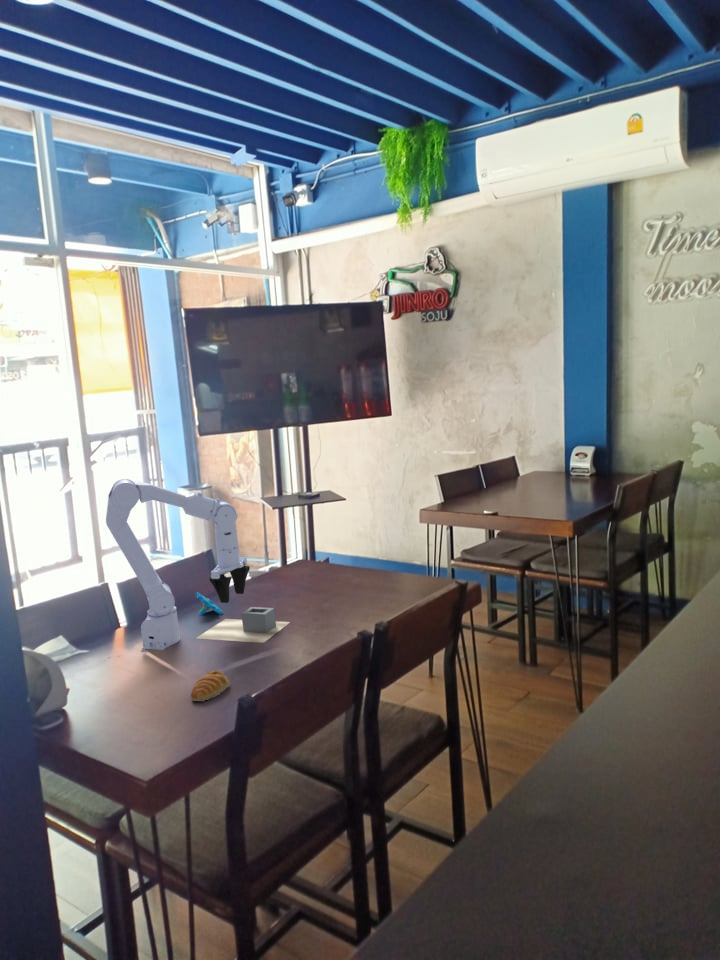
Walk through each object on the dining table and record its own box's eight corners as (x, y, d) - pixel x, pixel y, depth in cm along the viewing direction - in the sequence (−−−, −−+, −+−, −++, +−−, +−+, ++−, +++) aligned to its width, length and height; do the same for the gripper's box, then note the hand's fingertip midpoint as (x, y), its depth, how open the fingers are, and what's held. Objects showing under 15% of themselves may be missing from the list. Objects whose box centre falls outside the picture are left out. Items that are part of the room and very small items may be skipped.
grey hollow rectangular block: (266, 632, 190) (265, 614, 190) (243, 631, 193) (241, 613, 192) (276, 626, 195) (274, 608, 194) (253, 624, 198) (251, 606, 197)
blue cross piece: (226, 613, 207) (198, 592, 205) (213, 631, 206) (184, 610, 204) (224, 607, 218) (197, 587, 216) (211, 624, 217) (184, 604, 215)
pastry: (211, 705, 153) (209, 687, 152) (183, 703, 155) (181, 686, 154) (232, 686, 162) (230, 669, 161) (205, 684, 164) (203, 668, 163)
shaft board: (264, 646, 184) (263, 642, 183) (195, 642, 191) (195, 638, 191) (290, 625, 197) (290, 622, 197) (226, 622, 205) (225, 618, 205)
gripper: (225, 555, 185) (231, 607, 187) (254, 541, 198) (259, 590, 200) (201, 554, 188) (207, 605, 190) (231, 541, 201) (236, 589, 203)
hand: (232, 597), depth 195 cm, fingers open, 7 cm apart
